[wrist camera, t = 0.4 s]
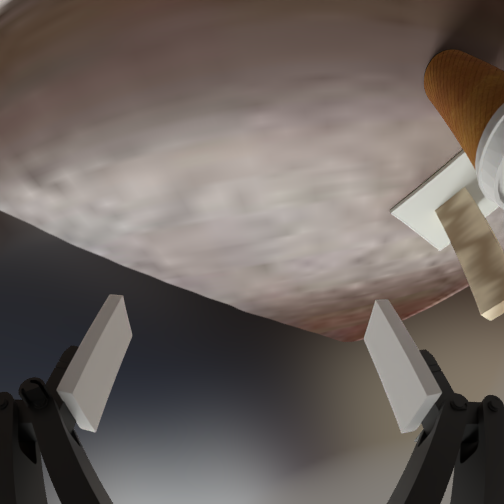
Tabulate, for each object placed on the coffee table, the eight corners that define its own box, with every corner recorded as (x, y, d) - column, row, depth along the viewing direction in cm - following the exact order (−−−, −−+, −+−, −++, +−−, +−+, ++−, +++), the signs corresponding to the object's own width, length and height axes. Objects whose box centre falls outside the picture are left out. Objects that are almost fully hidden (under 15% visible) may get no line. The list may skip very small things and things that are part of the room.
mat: (438, 248, 39) (439, 251, 39) (389, 210, 33) (390, 213, 32) (553, 155, 24) (555, 157, 24) (532, 85, 17) (535, 87, 17)
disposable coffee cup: (491, 35, 15) (590, 107, 7) (484, 120, 22) (553, 205, 15) (403, 31, 17) (506, 102, 9) (407, 128, 24) (473, 227, 17)
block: (449, 226, 35) (490, 321, 26) (434, 210, 32) (480, 315, 24) (477, 204, 31) (524, 299, 23) (464, 186, 29) (519, 289, 20)
